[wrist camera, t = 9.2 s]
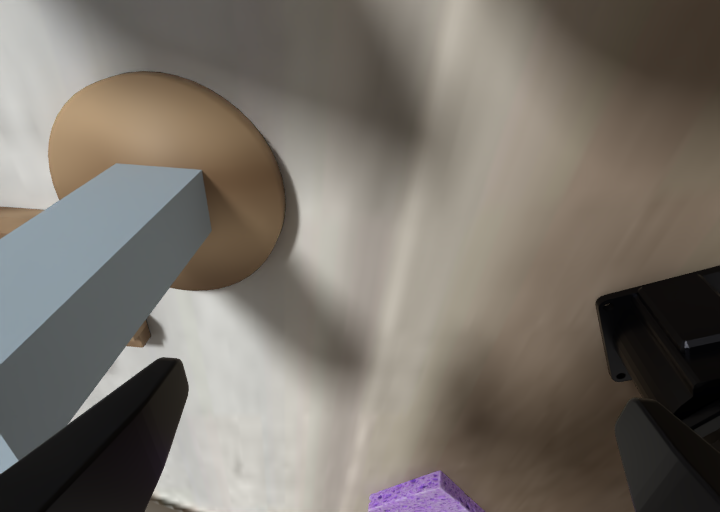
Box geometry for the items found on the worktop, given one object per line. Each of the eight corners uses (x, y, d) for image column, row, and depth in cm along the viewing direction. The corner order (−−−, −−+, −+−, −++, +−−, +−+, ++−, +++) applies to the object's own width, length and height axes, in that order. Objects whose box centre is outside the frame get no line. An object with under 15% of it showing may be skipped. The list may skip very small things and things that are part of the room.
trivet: (323, 244, 22) (320, 254, 22) (158, 301, 25) (150, 312, 25) (201, 25, 17) (191, 27, 16) (13, 130, 20) (-4, 136, 19)
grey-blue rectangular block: (202, 169, 20) (-29, 392, 9) (211, 230, 21) (28, 476, 11) (116, 163, 20) (-207, 374, 9) (133, 224, 21) (-123, 460, 11)
